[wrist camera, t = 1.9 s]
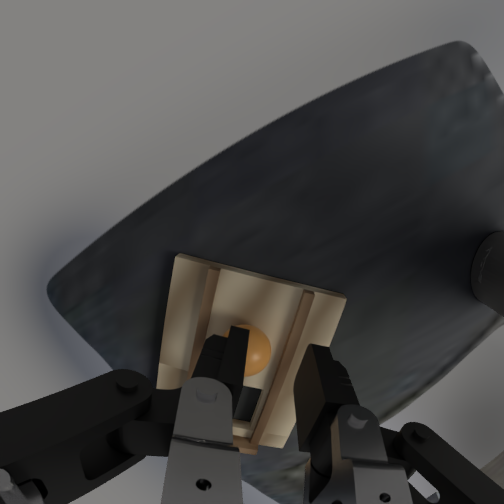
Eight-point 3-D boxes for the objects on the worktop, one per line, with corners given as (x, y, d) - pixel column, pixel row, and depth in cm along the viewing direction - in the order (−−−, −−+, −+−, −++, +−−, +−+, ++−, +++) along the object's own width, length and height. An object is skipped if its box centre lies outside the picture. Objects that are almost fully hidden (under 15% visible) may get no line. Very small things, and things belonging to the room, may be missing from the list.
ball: (277, 322, 30) (278, 348, 25) (263, 363, 31) (263, 392, 26) (227, 310, 30) (219, 334, 25) (217, 352, 31) (209, 379, 26)
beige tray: (343, 293, 30) (352, 307, 27) (282, 440, 35) (282, 459, 32) (179, 253, 30) (169, 261, 27) (156, 411, 35) (149, 428, 32)
